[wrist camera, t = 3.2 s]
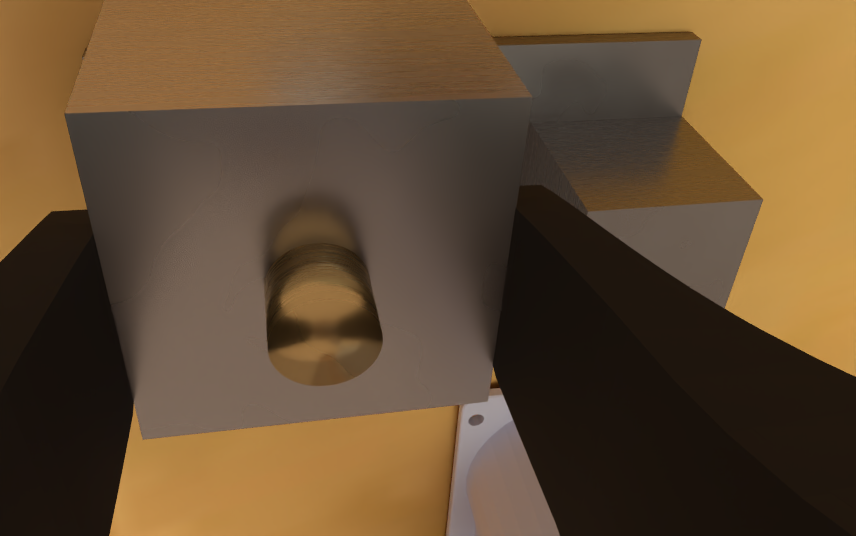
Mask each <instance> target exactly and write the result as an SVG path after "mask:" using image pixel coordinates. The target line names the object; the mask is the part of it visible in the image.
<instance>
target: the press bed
mask: <svg viewBox="0 0 856 536" xmlns="http://www.w3.org/2000/svg"><path fill="white" fill-rule="evenodd" d="M492 38H493V40H494V41H495V43H496V44H497V46H498V47H499V49H500V50H501V51H502V53H503V54H504V56H505V57H506V59H507V60H508V62H509V63H510V65H511V66H512V68H513V69H514V71H515V72H516V73H517V75H518V76H519V78H520V79H521V81H522V82H523V84H524V85H525V87H526V88H527V90H528V91H529V93H530V94H531V95H532V104H531V111H530V118H529V125H528V131H527V138H526V145H525V152H524V159H523V165H522V172H521V179H520V186H524V185H542V186H544V187H546V188H547V189H549V190H551V191H552V192H554V193H555V194H557V195H558V196H560V197H561V198H562V199H564V200H565V201H567V202H568V203H570V204H571V205H572V206H574V207H575V208H577V209H578V210H579V211H581V212H582V213H584V214H585V215H586V216H588V217H589V218H590V219H592V220H593V221H595V222H596V223H597V224H599V225H600V226H602V227H603V228H604V229H606V230H607V231H608V232H610V233H611V234H613V235H614V236H615V237H617V238H618V239H620V240H621V241H622V242H624V243H625V244H627V245H628V246H629V247H631V248H632V249H634V250H635V251H637V252H638V253H639V254H641V255H642V256H644V257H645V258H647V259H648V260H649V261H651V262H652V263H654V264H655V265H657V266H658V267H660V268H661V269H663V270H664V271H666V272H667V273H669V274H670V275H672V276H673V277H675V278H676V279H678V280H679V281H681V282H682V283H684V284H686V285H687V286H689V287H690V288H692V289H693V290H695V291H697V292H698V293H700V294H702V295H703V296H705V297H706V298H708V299H710V300H711V301H713V302H715V303H716V304H718V305H719V306H721V307H723V308H725V305H726V303H727V300H728V297H729V294H730V291H731V289H732V286H733V283H734V280H735V277H736V275H737V272H738V269H739V266H740V263H741V261H742V258H743V255H744V252H745V249H746V246H747V244H748V241H749V238H750V235H751V232H752V230H753V227H754V224H755V221H756V218H757V216H758V213H759V210H760V207H761V204H762V202H763V199H762V198H761V197H760V196H759V195H758V194H757V193H756V192H755V191H754V190H753V189H752V188H751V186H750V185H749V184H748V183H747V182H746V181H745V180H744V179H743V178H742V177H741V176H740V175H739V174H738V173H737V172H736V171H735V170H734V169H733V168H732V167H731V166H730V165H729V164H728V163H727V162H726V161H725V160H724V159H723V158H722V157H721V156H720V155H719V154H718V153H717V152H716V151H715V150H714V149H713V148H712V147H711V146H710V145H709V144H708V143H707V142H706V141H705V140H704V139H703V137H702V136H701V135H700V134H699V133H698V132H697V131H696V130H695V129H694V128H693V127H692V126H691V125H690V124H689V123H688V122H687V121H686V120H685V119H684V118H683V117H682V112H683V108H684V104H685V101H686V97H687V93H688V89H689V85H690V82H691V78H692V74H693V70H694V66H695V63H696V59H697V55H698V51H699V47H700V44H701V39H700V38H699V37H697V36H696V35H695V34H694V33H693V32H679V33H641V34H602V35H564V36H526V37H492ZM86 51H87V48H86V49H85V51H84V54H83V57H82V58H83V59H84V56H85V53H86Z"/></svg>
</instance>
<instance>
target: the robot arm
mask: <svg viewBox="0 0 856 536" xmlns="http://www.w3.org/2000/svg"><path fill="white" fill-rule="evenodd" d="M493 368H494V371H495V375H496V378H497V381H498V384H499V386H500V388H494V389H490V390H489V397H488V402H481V403H472V404H463V405H460V406H459V415H458V425H457V435H456V444H455V454H454V463H453V473H452V482H451V492H450V502H449V511H448V521H447V530H446V536H856V377H855V376H853V375H850V374H848V373H846V372H844V371H842V370H840V369H838V368H836V367H833V366H831V365H829V364H827V363H825V362H823V361H821V360H819V359H817V358H815V357H813V356H811V355H809V354H807V353H805V352H803V351H801V350H799V349H797V348H795V347H793V346H791V345H790V344H788V343H786V342H784V341H782V340H780V339H778V338H776V337H774V336H772V335H770V334H768V333H767V332H765V331H763V330H761V329H759V328H757V327H755V326H754V325H752V324H750V323H748V322H747V321H745V320H743V319H741V318H739V317H738V316H736V315H734V314H733V313H731V312H729V311H728V310H726V309H724V308H723V307H721V306H719V305H718V304H716V303H715V302H713V301H711V300H710V299H708V298H706V297H705V296H703V295H702V294H700V293H698V292H697V291H695V290H693V289H692V288H690V287H689V286H687V285H686V284H684V283H682V282H681V281H679V280H678V279H676V278H675V277H673V276H672V275H670V274H669V273H667V272H666V271H664V270H663V269H661V268H660V267H658V266H657V265H655V264H654V263H652V262H651V261H649V260H648V259H647V258H645V257H644V256H642V255H641V254H639V253H638V252H637V251H635V250H634V249H632V248H631V247H629V246H628V245H627V244H625V243H624V242H622V241H621V240H620V239H618V238H617V237H615V236H614V235H613V234H611V233H610V232H608V231H607V230H606V229H604V228H603V227H602V226H600V225H599V224H597V223H596V222H595V221H593V220H592V219H590V218H589V217H588V216H586V215H585V214H584V213H582V212H581V211H579V210H578V209H577V208H575V207H574V206H572V205H571V204H570V203H568V202H567V201H565V200H564V199H562V198H561V197H560V196H558V195H557V194H555V193H554V192H552V191H551V190H549V189H547V188H546V187H544V186H542V185H524V186H519V193H518V200H517V206H516V208H515V215H514V222H513V229H512V236H511V243H510V250H509V257H508V264H507V270H506V277H505V284H504V291H503V298H502V305H501V312H500V319H499V326H498V333H497V340H496V347H495V354H494V360H493ZM133 404H134V400H133V396H132V392H131V388H130V384H129V380H128V376H127V371H126V367H125V363H124V359H123V355H122V351H121V347H120V342H119V338H118V334H117V330H116V326H115V322H114V317H113V313H112V309H111V305H110V301H109V297H108V293H107V288H106V284H105V280H104V276H103V272H102V268H101V264H100V259H99V255H98V251H97V247H96V243H95V239H94V234H93V230H92V226H91V222H90V218H89V214H88V210H71V211H53V212H51V213H50V214H48V215H47V216H46V217H45V218H44V219H43V220H42V221H41V222H40V223H39V224H38V225H37V226H36V227H35V228H34V229H33V230H32V231H31V232H30V233H29V234H28V235H27V236H26V237H25V238H24V239H23V240H22V241H21V242H20V243H19V244H18V245H17V246H16V247H15V248H14V249H13V250H12V251H11V252H10V253H9V254H8V255H7V256H6V257H5V258H4V259H3V260H2V261H1V262H0V536H109V534H110V529H111V524H112V519H113V514H114V509H115V504H116V499H117V494H118V489H119V484H120V479H121V474H122V469H123V463H124V458H125V453H126V448H127V443H128V438H129V432H130V427H131V421H132V416H133ZM477 414H478V415H477ZM473 415H476V416H473ZM472 416H473V417H472Z"/></svg>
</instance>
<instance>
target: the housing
mask: <svg viewBox="0 0 856 536" xmlns="http://www.w3.org/2000/svg"><path fill="white" fill-rule="evenodd" d="M531 104H532V95H531V94H530V93H529V91H528V90H527V88H526V87H525V85H524V84H523V82H522V81H521V79H520V78H519V76H518V75H517V73H516V72H515V71H514V69H513V68H512V66H511V65H510V63H509V62H508V60H507V59H506V57H505V56H504V54H503V53H502V51H501V50H500V49H499V47H498V46H497V44H496V43H495V41H494V40H493V38H492V37H491V35H490V34H489V32H488V31H487V29H486V28H485V27H484V25H483V24H482V22H481V21H480V19H479V18H478V16H477V15H476V13H475V12H474V10H473V9H472V7H471V6H470V5H469V3H468V2H467V0H104V2H103V5H102V8H101V11H100V14H99V17H98V19H97V22H96V25H95V28H94V31H93V34H92V36H91V39H90V42H89V45H88V48H87V51H86V53H85V56H84V59H83V62H82V65H81V68H80V70H79V73H78V76H77V79H76V82H75V85H74V87H73V90H72V93H71V96H70V99H69V102H68V104H67V107H66V110H65V113H64V114H65V118H66V122H67V127H68V131H69V135H70V139H71V143H72V147H73V151H74V156H75V160H76V164H77V168H78V172H79V176H80V181H81V185H82V189H83V193H84V197H85V201H86V205H87V210H88V214H89V218H90V222H91V226H92V230H93V234H94V239H95V243H96V247H97V251H98V255H99V259H100V264H101V268H102V272H103V276H104V280H105V284H106V288H107V293H108V297H109V301H110V305H111V309H112V313H113V317H114V322H115V326H116V330H117V334H118V338H119V342H120V347H121V351H122V355H123V359H124V363H125V367H126V371H127V376H128V380H129V384H130V388H131V392H132V396H133V400H134V405H135V409H136V413H137V417H138V421H139V425H140V430H141V434H142V438H143V440H144V439H153V438H162V437H171V436H180V435H189V434H198V433H208V432H217V431H226V430H235V429H244V428H253V427H262V426H271V425H280V424H290V423H299V422H308V421H317V420H326V419H335V418H344V417H353V416H362V415H372V414H381V413H390V412H399V411H408V410H417V409H426V408H435V407H444V406H454V405H463V404H472V403H481V402H488V397H489V390H490V384H491V377H492V370H493V360H494V354H495V347H496V340H497V333H498V326H499V319H500V312H501V305H502V298H503V291H504V284H505V277H506V270H507V264H508V257H509V250H510V243H511V236H512V229H513V222H514V215H515V208H516V206H517V200H518V193H519V186H520V179H521V172H522V165H523V159H524V152H525V145H526V138H527V131H528V125H529V118H530V111H531Z"/></svg>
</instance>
